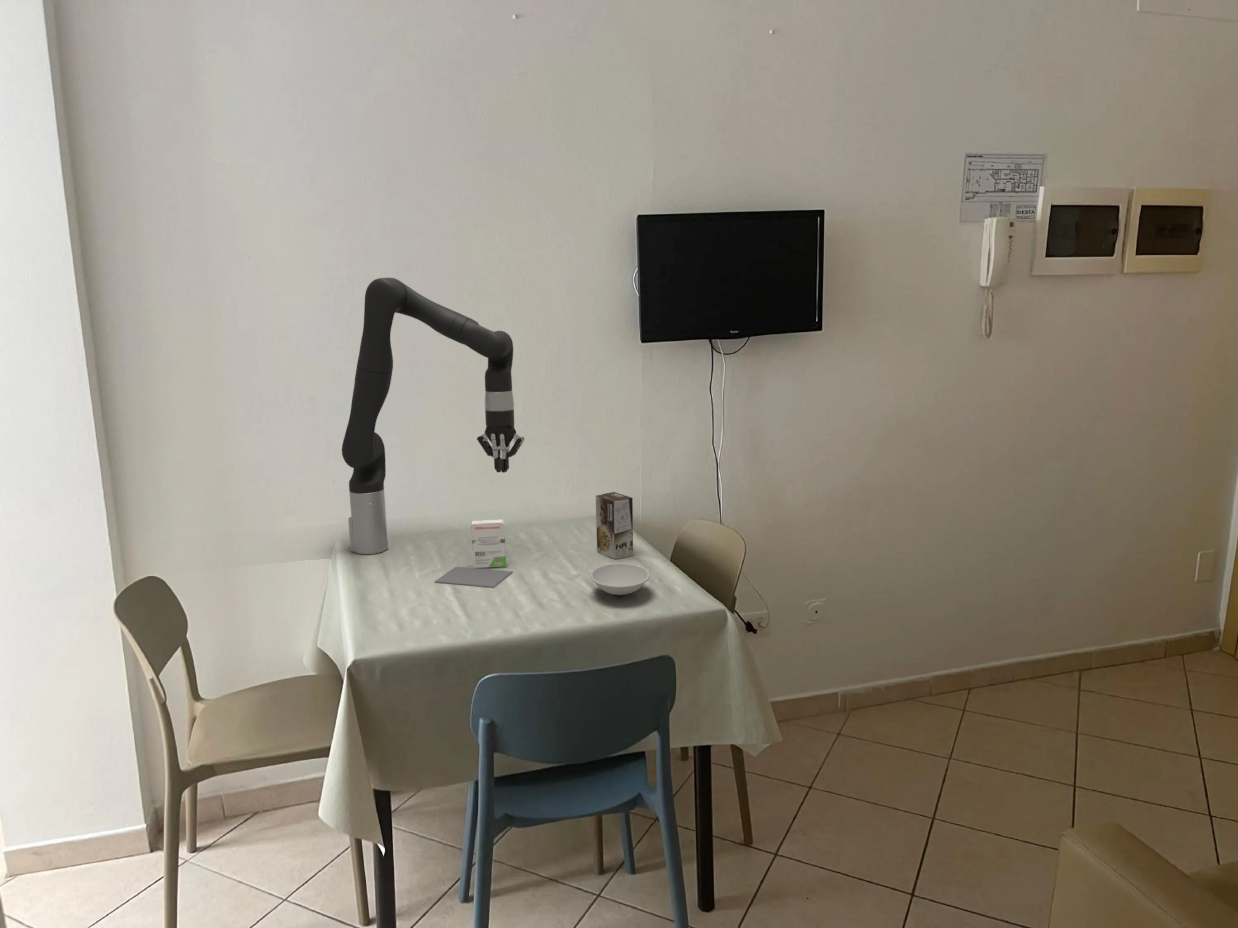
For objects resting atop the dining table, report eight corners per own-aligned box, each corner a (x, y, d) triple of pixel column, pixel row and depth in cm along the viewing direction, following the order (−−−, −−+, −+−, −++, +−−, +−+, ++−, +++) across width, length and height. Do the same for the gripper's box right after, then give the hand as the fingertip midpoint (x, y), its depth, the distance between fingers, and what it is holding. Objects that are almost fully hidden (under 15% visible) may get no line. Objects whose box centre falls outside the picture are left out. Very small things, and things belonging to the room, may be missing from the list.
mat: (434, 582, 229) (434, 581, 229) (455, 567, 240) (455, 566, 240) (493, 587, 224) (493, 586, 224) (512, 572, 236) (512, 571, 236)
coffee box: (634, 555, 248) (633, 497, 245) (614, 559, 245) (613, 501, 241) (615, 547, 256) (614, 491, 252) (595, 551, 252) (594, 494, 249)
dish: (653, 606, 211) (653, 585, 210) (590, 608, 210) (590, 587, 209) (647, 580, 228) (646, 561, 227) (589, 582, 227) (588, 563, 226)
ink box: (505, 562, 244) (504, 518, 242) (506, 566, 239) (504, 522, 237) (473, 563, 243) (471, 520, 241) (472, 568, 238) (470, 523, 236)
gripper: (469, 409, 241) (472, 473, 244) (517, 410, 237) (520, 476, 241) (481, 404, 248) (484, 467, 251) (528, 406, 244) (530, 470, 248)
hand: (502, 471), depth 246 cm, fingers closed
